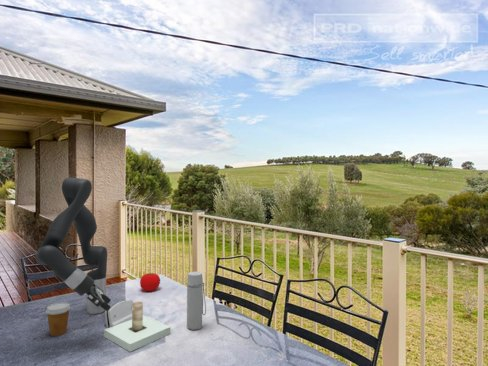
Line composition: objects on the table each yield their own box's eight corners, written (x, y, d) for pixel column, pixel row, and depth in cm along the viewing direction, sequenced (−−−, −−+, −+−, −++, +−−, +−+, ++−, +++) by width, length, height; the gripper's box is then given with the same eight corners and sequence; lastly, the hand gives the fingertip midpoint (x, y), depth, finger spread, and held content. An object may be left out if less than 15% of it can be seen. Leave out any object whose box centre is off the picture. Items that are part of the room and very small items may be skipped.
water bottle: (189, 332, 147) (189, 276, 147) (184, 325, 154) (184, 272, 153) (208, 328, 151) (209, 274, 151) (202, 321, 158) (203, 269, 158)
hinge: (114, 329, 149) (108, 307, 151) (106, 331, 151) (101, 309, 153) (140, 315, 164) (135, 296, 166) (133, 317, 166) (128, 297, 168)
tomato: (136, 292, 198) (136, 275, 198) (145, 286, 210) (145, 270, 210) (154, 293, 196) (154, 276, 196) (162, 287, 208) (162, 271, 208)
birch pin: (130, 335, 144) (130, 303, 143) (138, 331, 147) (138, 300, 147) (135, 338, 141) (135, 306, 141) (144, 334, 144) (144, 303, 144)
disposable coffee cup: (75, 329, 149) (75, 303, 148) (57, 339, 140) (57, 311, 139) (59, 326, 152) (59, 300, 152) (40, 335, 143) (40, 308, 143)
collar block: (104, 336, 142) (104, 329, 142) (143, 321, 158) (143, 315, 158) (130, 351, 130) (130, 344, 130) (170, 333, 145) (170, 326, 145)
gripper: (84, 279, 130) (115, 304, 134) (87, 269, 143) (115, 293, 147) (69, 294, 128) (101, 319, 132) (74, 283, 141) (102, 306, 145)
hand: (109, 305), depth 140 cm, fingers open, 8 cm apart
